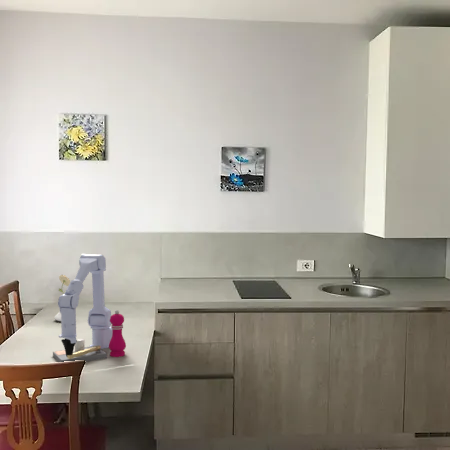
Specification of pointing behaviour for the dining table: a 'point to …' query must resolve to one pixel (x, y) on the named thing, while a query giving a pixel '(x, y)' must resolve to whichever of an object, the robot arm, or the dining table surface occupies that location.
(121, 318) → the pepper mill
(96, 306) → the robot arm
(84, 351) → the bar
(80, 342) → the plug
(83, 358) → the socket block
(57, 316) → the flower in vase
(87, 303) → the dining table surface
